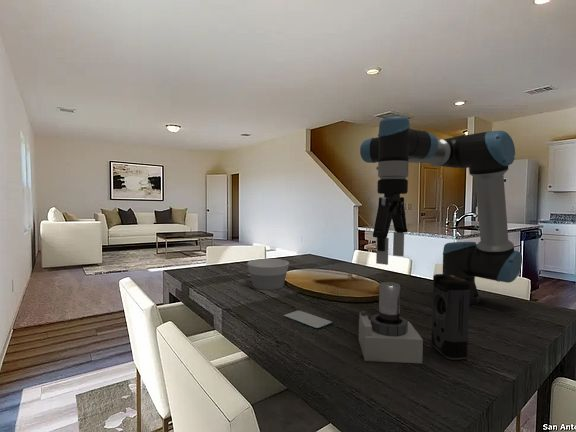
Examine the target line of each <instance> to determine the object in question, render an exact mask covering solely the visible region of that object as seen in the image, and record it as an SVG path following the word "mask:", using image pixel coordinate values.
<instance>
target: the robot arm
mask: <svg viewBox="0 0 576 432" xmlns="http://www.w3.org/2000/svg"><path fill="white" fill-rule="evenodd" d="M378 127H379V128H378V134H377V137H371V138H368V139H365V140H364V141H362V142H361V144H360V146H359V148H360V149H359V155H360V157H361V159H362V161H363V162H365V163H367V164H368V163H369V164H371V163H372V164H375V163H377V165H378V166H376V170H377V177H378V178H379V179H378V180H377V194H380V195H383V196H380V197H379V198H378V205H377V206H378V207H377V212H376V217H375V222H374V227H373V228H374V229H373V233H372V237H373V238H376V250H375V251H376V255H375V259H376V260H375V262H376V264H377V265H378V264H379V265H385V266H387V265H389V237H388V236H389V235H388V234H389V231H390V227H391V223H392V224H393V229H394V232H393V241H392V242H393V246H392V247H393V248H392V256H394V257H404V255H405V254H404V253H405V251H404V250H405V233H408V232H409V231H408V227H407V218H406V209H405V198H404V197H403V196H401V195H406V194H408V192H409V191H408V187H409V185H408V184H409V180H408V179H406V178H408V177H409V163H410V164H411V163H413V164H414V163H416V164H417V163H418V164H419V163H420V164H429V165H430V166H433V167H445V168H453V169H468V171H469V175H470V176H471V177H473V178H474V183H475V193H476V194H475V195H476V205H477V215H478V226H479V236H480V241H478V243H477V242H475V241H454V242H452V241H451V242H447V243H445V244H444V245H443V248H442V249H443V251H442V274H452V275H455V276H457V277H460V278H462V279H465V280H467V281H469V282H470V298H469V305H476V304H478V303H480V294H479V290H478V288H477V285H476V281H475V280H476V277H477V278H479V279H480V278H481V279H486V280H490V281H495V282H499V283H500V282H501V283H507V284H508V283H512V282H515V280H516V279H517V278H518V276H519V274H520V271H521V268H522V265H523V255H522V253H521V252H520V251H518V250H515V245H514V243H513V242H512V241H511V240H509V231H508V230H509V229H508V219H507V217H508V215H507V205H506V191H505V190H506V189H505V178H504V177H505V174H506V173H507V171H509V167H510V166H511V165H512V164H513V163H514V161H515V159H516V158H515V155H516V149H515V143H514V141H513V138H512V136H511V135H510V134H509V133H508V132H507V131H504V130H490V131H489V130H488V131H484V132H477V133H470V134H464V135H463V134H462V135H458V136H452V137H449V138H448V137H447V138H437V137H436V136H437V135H435V134H433V133H432V132H428V131H426V130H419V129H413V128H411V125H410V120H409V118H408V117H406V116H402V115H401V116H399V115H398V116H397V115H396V116H390V117H389V116H387V117H384V118H382V119H381V120H380V121H379V125H378Z"/></svg>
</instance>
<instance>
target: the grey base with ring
mask: <svg viewBox="0 0 576 432" xmlns="http://www.w3.org/2000/svg"><path fill="white" fill-rule="evenodd" d="M367 313H368V312H367V311H365V310H361V311H360V312H359V318H358V342H359V343H358V344H359V346H360V349H361V353H362V356H363V359H364V362H381V363H400V364H401V363H404V364H405V363H407V364H423V353H424V352H423V349H424V347H423V346H424V345H423V344H424V343H423V342H424V339H423V338H422V337H421V335H420V334H419V332H418V331H417V330H416V329H415V327H414V326H413V325H412V323H411V322H410V321H408V320H407V319H406V318H405V317H402V316H400V322H399V324H397V325H387V324H383V323H380V322H379V313H377V314H373V315H372V316H370V319H369V316H368V314H367Z"/></svg>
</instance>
